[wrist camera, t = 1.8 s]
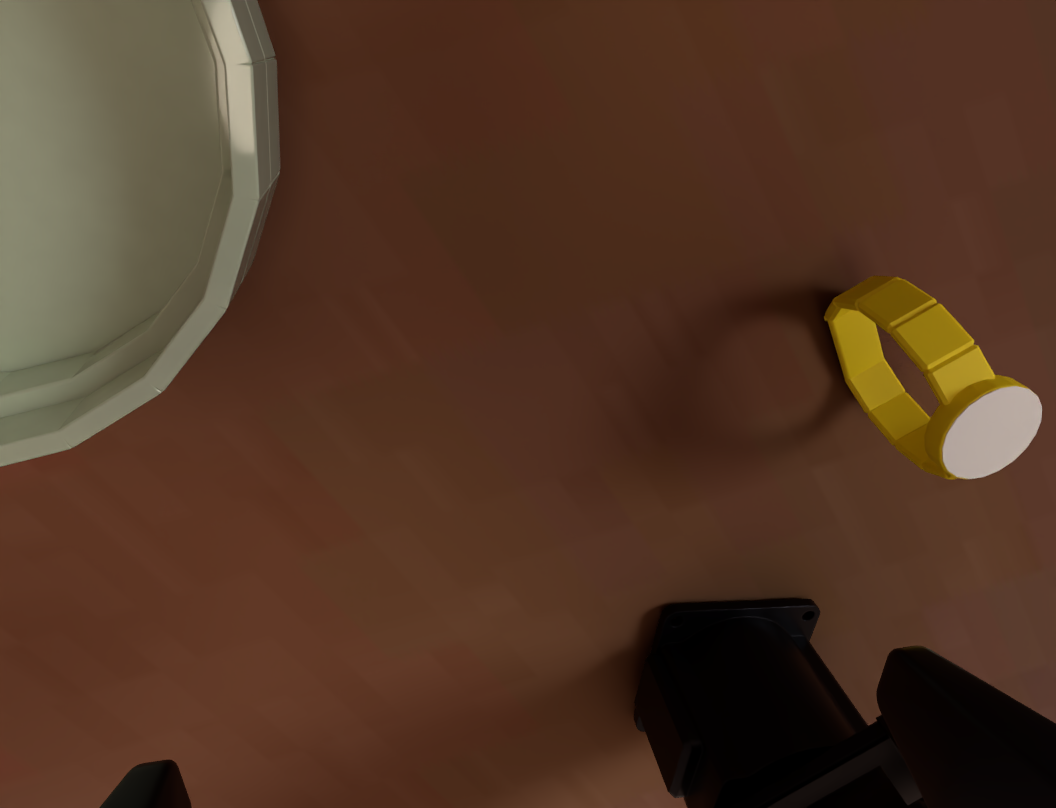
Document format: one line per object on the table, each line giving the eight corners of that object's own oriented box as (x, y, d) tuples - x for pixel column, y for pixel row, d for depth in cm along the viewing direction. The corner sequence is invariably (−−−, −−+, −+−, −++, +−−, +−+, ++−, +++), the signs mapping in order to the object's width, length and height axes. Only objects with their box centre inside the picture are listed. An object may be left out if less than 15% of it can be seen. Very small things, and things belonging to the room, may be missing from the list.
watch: (786, 286, 21) (915, 367, 16) (868, 238, 21) (1026, 305, 16) (838, 428, 24) (962, 535, 19) (911, 387, 24) (1057, 485, 19)
